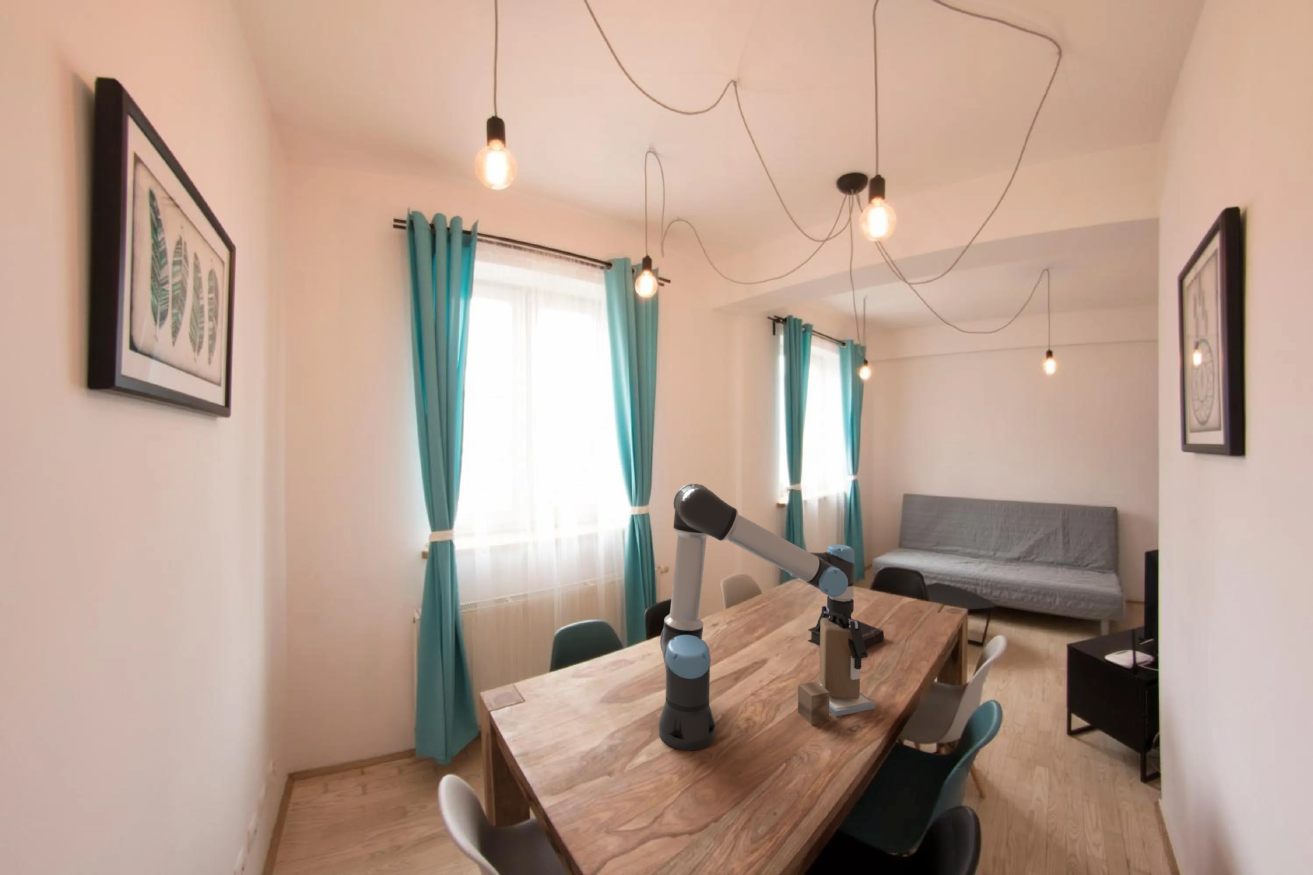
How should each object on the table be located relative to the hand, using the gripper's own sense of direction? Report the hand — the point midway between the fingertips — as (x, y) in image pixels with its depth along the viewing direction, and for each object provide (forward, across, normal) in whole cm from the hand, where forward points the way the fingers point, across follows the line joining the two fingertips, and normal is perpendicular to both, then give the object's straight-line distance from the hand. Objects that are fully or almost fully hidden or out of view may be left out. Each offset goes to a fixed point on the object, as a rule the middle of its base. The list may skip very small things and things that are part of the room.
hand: (839, 667), depth 140 cm
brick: (+10, -5, +13) cm, 17 cm away
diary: (+10, +33, -31) cm, 47 cm away
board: (+10, 0, 0) cm, 10 cm away
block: (+7, 0, 0) cm, 7 cm away
